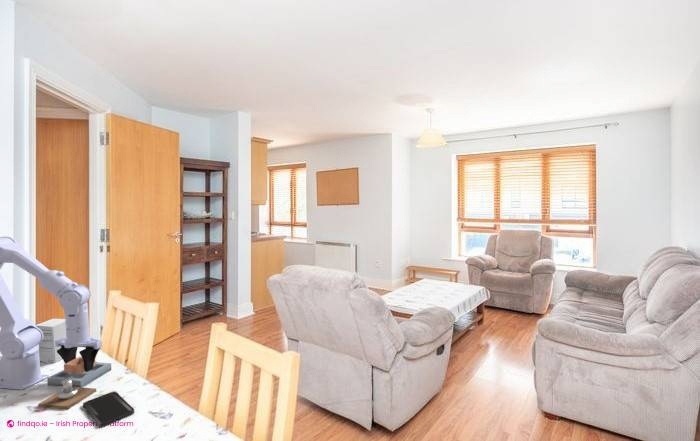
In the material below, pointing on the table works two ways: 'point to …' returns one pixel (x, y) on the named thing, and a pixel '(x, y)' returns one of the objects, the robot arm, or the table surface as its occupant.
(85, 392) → the base
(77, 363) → the ring
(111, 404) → the phone
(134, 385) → the table surface
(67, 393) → the grey stepped cylinder
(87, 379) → the tray
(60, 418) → the table surface
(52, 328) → the supplement box
